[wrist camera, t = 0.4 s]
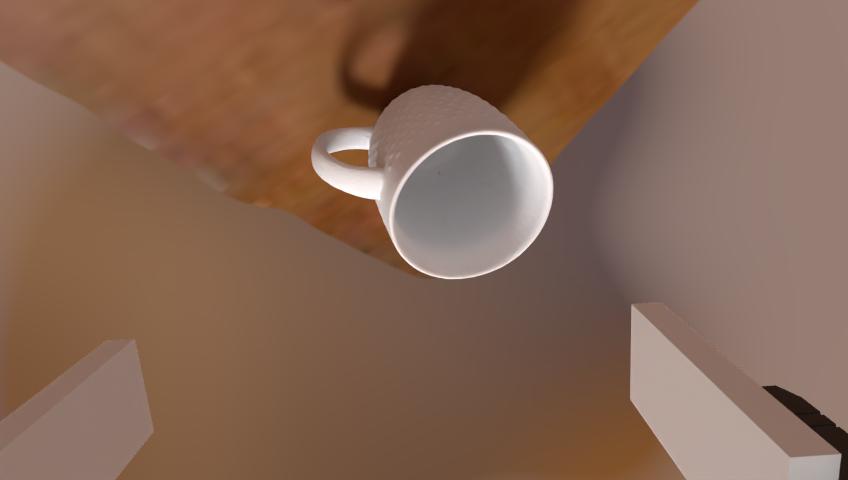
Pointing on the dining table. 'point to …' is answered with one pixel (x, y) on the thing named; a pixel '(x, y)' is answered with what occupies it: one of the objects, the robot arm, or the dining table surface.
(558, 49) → the dining table surface
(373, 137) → the mug
